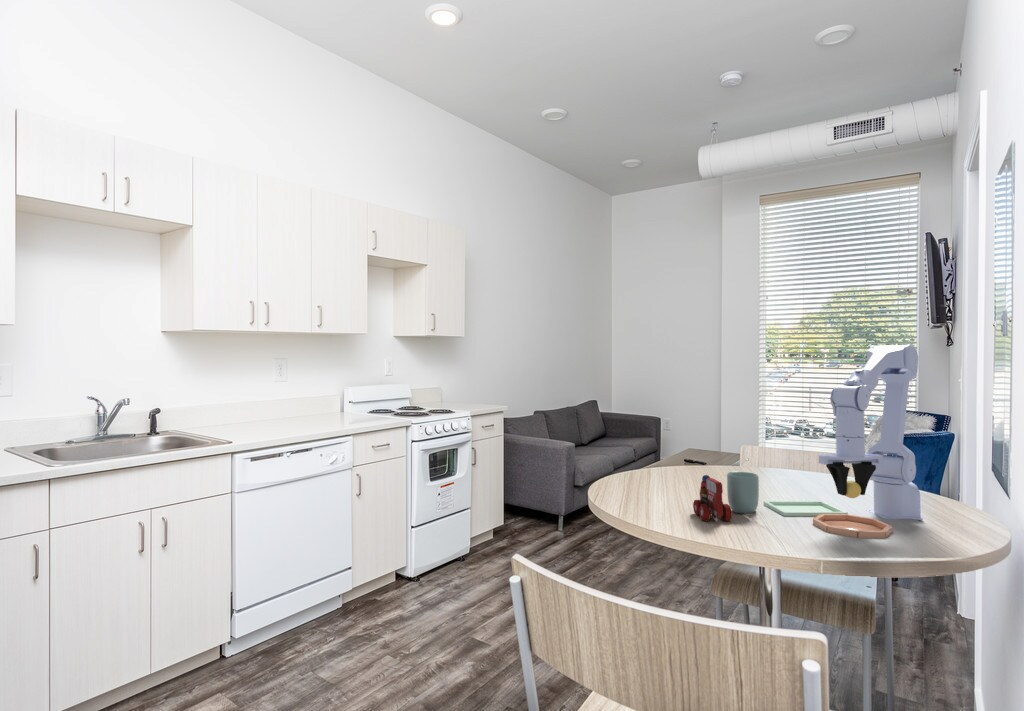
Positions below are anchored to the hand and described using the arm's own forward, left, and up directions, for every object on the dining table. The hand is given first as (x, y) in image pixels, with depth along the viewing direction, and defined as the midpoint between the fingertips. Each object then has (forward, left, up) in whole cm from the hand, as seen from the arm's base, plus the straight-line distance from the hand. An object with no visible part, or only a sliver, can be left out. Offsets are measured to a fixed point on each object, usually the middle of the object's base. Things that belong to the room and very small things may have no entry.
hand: (851, 494), depth 130 cm
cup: (+19, -16, -9) cm, 26 cm away
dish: (0, 0, -8) cm, 8 cm away
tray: (+3, -16, -8) cm, 18 cm away
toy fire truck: (+29, -11, -9) cm, 32 cm away
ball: (0, 0, -1) cm, 1 cm away
